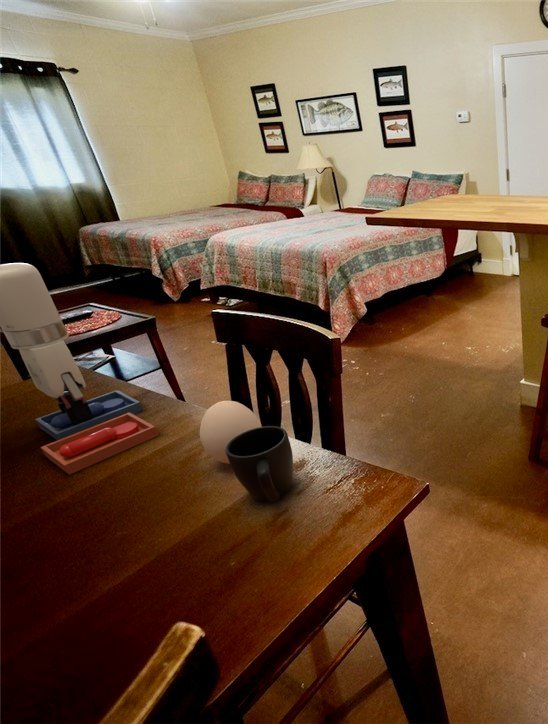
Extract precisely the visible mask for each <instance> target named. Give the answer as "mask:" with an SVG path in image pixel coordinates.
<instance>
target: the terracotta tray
mask: <svg viewBox="0 0 548 724" xmlns="http://www.w3.org/2000/svg"><path fill="white" fill-rule="evenodd" d="M130 422H134V423H137V424H138V427H139V429H140V430H139V432H138V433H135V434H133V435H131V436H128V437H126V438H123V439H113V440H111V441H109V442H106V443H104V444H102V445H99V446H97V447H95V448H92V449H90V450H88V451H85V452H83V453H80V454H78V455H76V456H73V457H70V458H66V457H63V456H61V455H60V452H59V451H60V448H61V447H62V446H64V445H66V444H68V443H71V442H73V441H75V440H78V439H80V438H83V437H85V436H88V435H90V434H93V433H95V432H98V431H100V430H103V429H105V428H115V427H116V426H119V425H121V424H125V423H130ZM158 436H159V432H158V430H157V428H156V426H155V425H153V424H152V423H149V422H148V421H146V420H145V419H142V418H140V417H139V416H137V415H135V414H131V413H126V414H124V415H121V416H119V417H116V418H114V419H111V420H109V421H106V422H104V423H101V424H98V425H96V426H93V427H91V428H88V429H86V430H83V431H81V432H78V433H76V434H73V435H70V436H68V437H65V438H63V439H60V440H58V441H57V440H56V441H53V442H50V443H47V444H45V445H43V446H40V450H41V451H42V453H43V454H44V456H45V457H46V458H47V459H48V460H49V461H51V462H52V463H54V464H55V465H56V466H58V468H60V469H61V470H63V471H64V472H65V473H67V474H68V475H69V476H70V475H72V474H74V473H77V472H78V471H82V470H84V469H86V468H88V467H91V466H92V465H95V464H97V463H100V462H102V461H104V460H106V459H108V458H111V457H113V456H115V455H118V454H120V453H122V452H124V451H126V450H129V449H131V448H133V447H136V446H138V445H140V444H142V443H145V442H147V441H150V440H151V439H154V438H156V437H158Z"/></svg>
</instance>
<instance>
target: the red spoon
mask: <svg viewBox="0 0 548 724" xmlns="http://www.w3.org/2000/svg"><path fill="white" fill-rule="evenodd" d="M139 430H140V429H139V427H138V424H137V423H134V422H130V423H125V424H121V425H119V426H116V427H115V428H105V429H103V430H100V431H98V432H95V433H93V434H90V435H88V436H85V437H83V438H80V439H78V440H75V441H73V442H71V443H68V444H66V445H64V446H62V447H61V448H60V451H59V452H60V455H61V456H63V457H66V458H70V457H73V456H76V455H78V454H80V453H83V452H85V451H88V450H90V449H92V448H95V447H97V446H99V445H102V444H104V443H106V442H109V441H111V440H113V439H123V438H126V437H128V436H131V435H133V434H135V433H138V432H139Z"/></svg>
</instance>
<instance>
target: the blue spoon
mask: <svg viewBox="0 0 548 724" xmlns="http://www.w3.org/2000/svg"><path fill="white" fill-rule="evenodd" d="M88 406H89V408H90V410H91V412H92V414H93V416H96V415H98V414H101V413H109V412H112V411H115V410H117V409H120V408H122V407H125V406H126V405H125V402H124V400H123V399H112V400H108V401H105V402H103V403H93V404H90V405H88ZM51 424H52V426H53V427H55V428H64V427H66V426H69V425H72V423H71V421H70V419H69V417H68V415H67V413H65V414H62V415H59V416H56V417H54V418H53V419H52V421H51Z"/></svg>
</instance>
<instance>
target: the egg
mask: <svg viewBox="0 0 548 724" xmlns="http://www.w3.org/2000/svg"><path fill="white" fill-rule="evenodd" d="M199 426H200V427H199V438H200V442H201V445H202V447H203V449H204V451H205V452H206V453H207V454H208V456H209V457H210V458H212V459H214V460H216V461H218V462H220V463H223V464H230V463H229V460H228V457H227V454H226V451H225V450H226V446H227V444H228V443H229V442H230V441H231V440H232V439H233V438H235V437H236V436H238V435H240V434H241V433H243V432H246V431H248V430H251V429H255V428H259V427H262V425H261V423H260V420H259V418H258V417H257V416H256V414H255V413H254V412H253V411H252V410H251V409H250V408H248V407H247V406H245V405H244V404H242V403H240V402H239V401H234V400H221V401H218V402H216V403H214V404H213V405H212V406H210V407H209V408H208V409H207V410H206V411H205V412H204V415H203V416H202V419H201V423H200V425H199Z"/></svg>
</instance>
